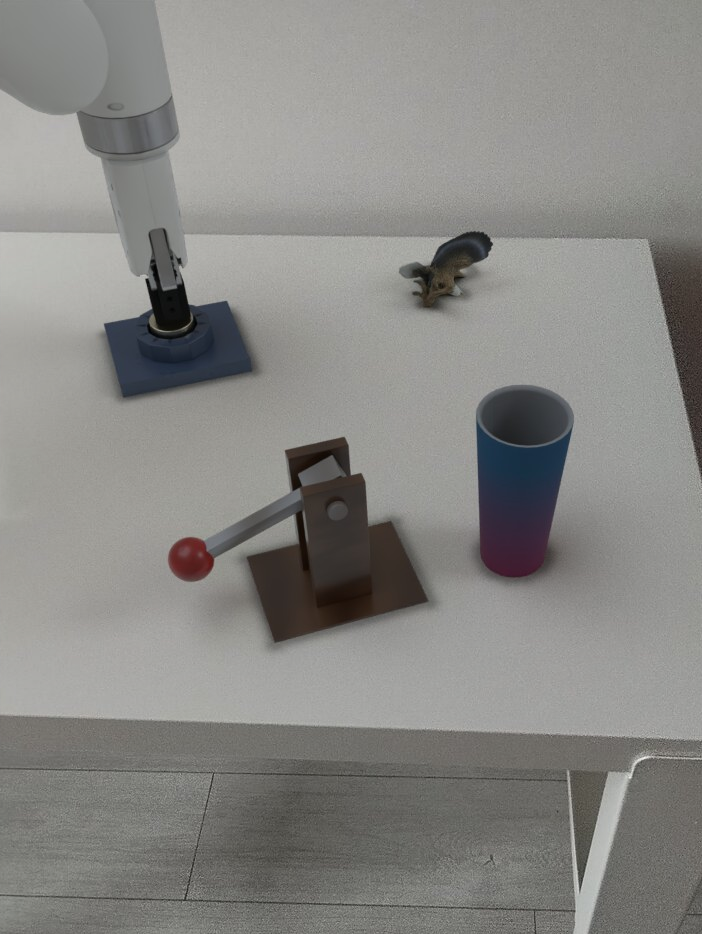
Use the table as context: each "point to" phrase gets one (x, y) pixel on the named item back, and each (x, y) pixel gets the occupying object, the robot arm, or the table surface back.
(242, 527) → the lever
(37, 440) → the table surface
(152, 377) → the box
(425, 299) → the brown squirrel toy
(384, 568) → the bracket
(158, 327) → the button
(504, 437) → the cup
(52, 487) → the table surface
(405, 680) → the table surface
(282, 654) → the table surface
